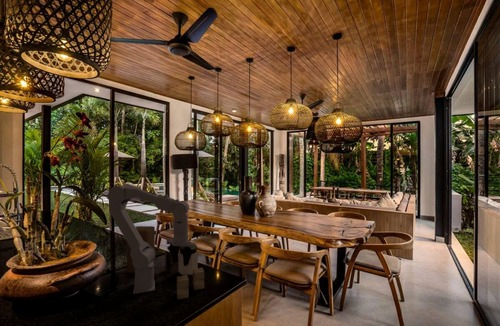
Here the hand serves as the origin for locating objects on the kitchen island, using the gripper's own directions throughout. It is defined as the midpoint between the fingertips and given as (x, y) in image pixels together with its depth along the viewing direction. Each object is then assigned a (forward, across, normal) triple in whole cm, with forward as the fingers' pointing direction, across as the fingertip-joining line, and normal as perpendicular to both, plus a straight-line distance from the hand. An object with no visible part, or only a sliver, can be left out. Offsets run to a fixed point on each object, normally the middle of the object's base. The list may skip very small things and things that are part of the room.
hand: (180, 263), depth 105 cm
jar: (+10, -8, +14) cm, 19 cm away
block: (+10, -30, +5) cm, 32 cm away
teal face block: (+10, +5, -4) cm, 12 cm away
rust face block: (+10, +6, +4) cm, 12 cm away
